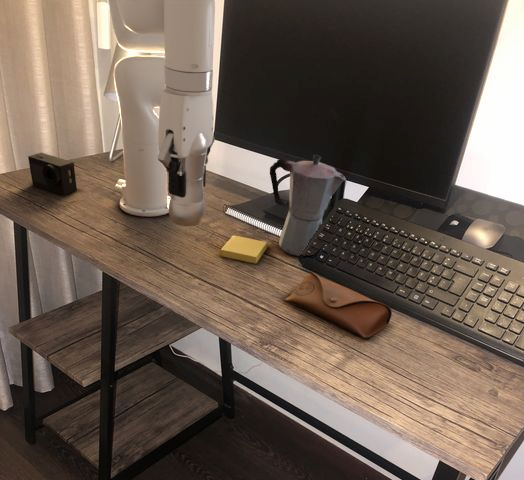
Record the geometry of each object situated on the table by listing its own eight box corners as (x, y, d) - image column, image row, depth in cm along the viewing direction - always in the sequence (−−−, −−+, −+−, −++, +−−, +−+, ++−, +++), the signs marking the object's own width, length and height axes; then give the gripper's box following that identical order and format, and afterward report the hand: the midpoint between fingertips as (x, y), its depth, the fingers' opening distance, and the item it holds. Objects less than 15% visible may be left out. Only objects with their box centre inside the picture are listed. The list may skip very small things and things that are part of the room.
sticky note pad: (220, 256, 113) (220, 249, 112) (233, 241, 119) (233, 234, 118) (255, 263, 112) (256, 257, 111) (266, 248, 118) (267, 242, 117)
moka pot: (330, 263, 114) (347, 167, 103) (257, 251, 116) (266, 155, 104) (335, 244, 122) (351, 152, 110) (266, 233, 124) (275, 141, 112)
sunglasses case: (281, 299, 100) (295, 265, 99) (297, 303, 106) (311, 271, 105) (368, 340, 92) (385, 303, 91) (380, 342, 98) (396, 308, 97)
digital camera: (28, 186, 134) (23, 157, 130) (45, 180, 138) (41, 151, 134) (60, 197, 130) (56, 167, 126) (77, 190, 134) (73, 161, 130)
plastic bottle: (169, 214, 105) (168, 102, 93) (205, 216, 106) (209, 105, 94) (167, 229, 100) (166, 113, 88) (205, 231, 101) (209, 116, 88)
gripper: (199, 68, 95) (197, 172, 106) (134, 83, 83) (139, 199, 94) (236, 77, 93) (230, 182, 104) (175, 94, 80) (175, 211, 92)
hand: (187, 189), depth 99 cm, fingers closed on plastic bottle, 5 cm apart
